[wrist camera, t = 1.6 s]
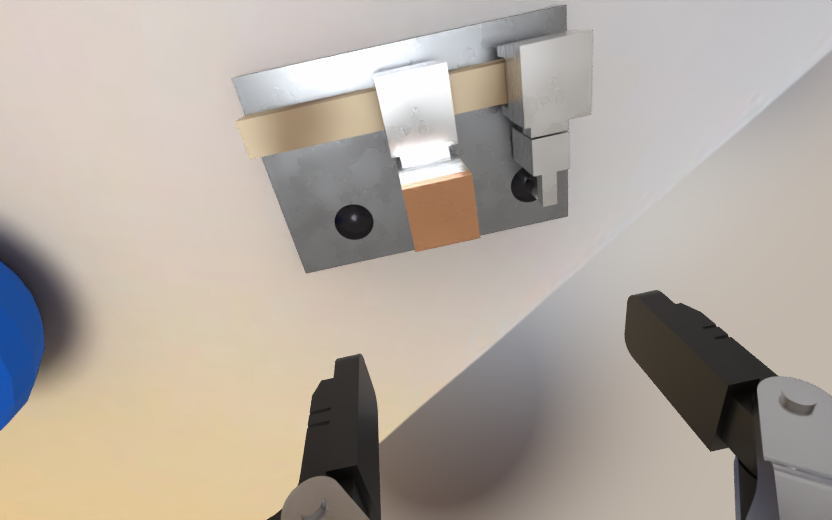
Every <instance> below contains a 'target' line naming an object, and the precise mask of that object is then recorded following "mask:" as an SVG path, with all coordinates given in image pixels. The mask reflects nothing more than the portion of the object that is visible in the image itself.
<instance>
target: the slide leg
mask: <svg viewBox="0 0 832 520" xmlns="http://www.w3.org/2000/svg"><path fill="white" fill-rule="evenodd" d="M374 81H375V85H376V90H377V94H378V99H379V103H380V108H381V112H382V117H383V121H384V126H385V130H386V135H387V139H388V144H389V148H390V153H391V157H392V158H395V159H396V164H397V169H398V173H399V178H400V183H401V187H402V192H403V197H404V201H405V206H406V210H407V215H408V220H409V224H410V229H411V233H412V238H413V242H414V247H415V252H418V251H422V250H427V249H431V248H436V247H441V246H445V245H450V244H454V243H459V242H463V241H468V240H473V239H477V238H480V232H479V224H478V216H477V208H476V200H475V192H474V184H473V176H472V174H471V172H470V171H469V170H468V168H467V167H466V166H465V164H464V163H463V161H462V160H461V159H460V157H459V156H458V155H457V153H456V152H455V151H454V149H453V148H452V147H451V145H454V144H458V139H457V132H456V125H455V117H454V110H453V103H452V96H451V89H450V81H449V74H448V67H447V62H445V61H442V60H439V59H438V60H432V61H427V62H422V63H418V64H413V65H409V66H404V67H400V68H395V69H391V70H386V71H382V72H377V73H374Z"/></svg>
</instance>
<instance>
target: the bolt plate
mask: <svg viewBox="0 0 832 520" xmlns="http://www.w3.org/2000/svg"><path fill="white" fill-rule="evenodd" d="M565 31H567V21H566V5H561V6H556V7H552V8H547V9H543V10H538V11H534V12H529V13H525V14H520V15H516V16H511V17H506V18H502V19H497V20H493V21H488V22H484V23H479V24H475V25H470V26H466V27H461V28H457V29H452V30H447V31H443V32H438V33H434V34H429V35H425V36H420V37H416V38H411V39H407V40H402V41H398V42H393V43H388V44H384V45H379V46H375V47H370V48H366V49H361V50H357V51H352V52H348V53H343V54H339V55H334V56H329V57H325V58H320V59H316V60H311V61H307V62H302V63H298V64H293V65H289V66H284V67H280V68H275V69H270V70H266V71H261V72H257V73H252V74H248V75H243V76H239V77H235V78H232V81H233V84H234V86H235V89H236V92H237V94H238V97H239V100H240V102H241V105H242V107H243V110H244V113H245V115H249V114H253V113H258V112H262V111H267V110H271V109H276V108H280V107H285V106H289V105H294V104H299V103H303V102H308V101H312V100H317V99H321V98H326V97H330V96H335V95H340V94H344V93H349V92H353V91H358V90H362V89H367V88H371V87H376V85H375V81H374V73H377V72H382V71H386V70H391V69H395V68H400V67H404V66H409V65H413V64H418V63H422V62H427V61H432V60H438V59H439V60H442V61H445V62H447V67H448V71H449V70H453V69H458V68H462V67H467V66H471V65H476V64H481V63H485V62H490V61H494V60H499V59H503V57H498V56H497V46H500V45H504V44H509V43H513V42H518V41H522V40H527V39H532V38H536V37H541V36H545V35H550V34H554V33H561V32H565ZM505 104H508V103H505ZM502 105H504V104H501V105H496V106H492V107H487V108H483V109H478V110H473V111H469V112H464V113H460V114H455V115H454V117H455V125H456V132H457V139H458V144H454V145H451V147H452V148H453V149H454V151H455V152H456V153H457V155H458V156H459V157H460V159H461V160H462V161H463V163H464V164H465V166H466V167H467V168H468V170H469V171H470V172H471V174H472V176H473V184H474V192H475V200H476V208H477V216H478V224H479V232H480V235H485V234H489V233H494V232H498V231H503V230H508V229H512V228H517V227H521V226H526V225H530V224H535V223H540V222H544V221H549V220H553V219H558V218H563V217H567V216H568V169H566V170H562V171H557V204H555V205H550V206H545V207H543V206H542V205H541V204H540V203H539V202H538V200H537V199H536V198H535V197H534V196H533V195H532V194H531V193H530V192H529V191H528V190H527V189H526V184H527V182H528V181H530V180H535V181H536V182H537V176H532V175H531V174H530V173H529V172H528V171H527V170H525V169H524V168H523V167H522V166H521V165H520V164H518V163H517V162H516V161H515V160H514V155H513V141H512V127H514V126H518V125H517V124H516V123H514V122H512V121H511V120H509V118H508V117H506V116H505V115H503V114H502ZM566 131H567V130H566ZM262 160H263V162H264V165H265V168H266V170H267V173H268V175H269V178H270V181H271V183H272V186H273V189H274V191H275V194H276V196H277V199H278V202H279V204H280V207H281V209H282V212H283V215H284V217H285V220H286V223H287V225H288V228H289V230H290V233H291V236H292V238H293V241H294V243H295V246H296V249H297V251H298V254H299V257H300V259H301V262H302V264H303V267H304V270H305V272H306V273H310V272H315V271H319V270H324V269H329V268H333V267H338V266H342V265H347V264H351V263H356V262H361V261H365V260H370V259H374V258H379V257H384V256H388V255H393V254H397V253H402V252H407V251H411V250H415V247H414V242H413V238H412V233H411V229H410V224H409V220H408V215H407V210H406V206H405V201H404V197H403V192H402V187H401V183H400V178H399V173H398V169H397V164H396V159H395V158H392V157H391V153H390V148H389V144H388V139H387V135H386V130H382V131H378V132H373V133H369V134H364V135H359V136H355V137H350V138H346V139H341V140H337V141H332V142H328V143H323V144H318V145H314V146H309V147H305V148H300V149H296V150H291V151H287V152H282V153H277V154H273V155H268V156H264V157H262Z"/></svg>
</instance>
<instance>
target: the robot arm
mask: <svg viewBox="0 0 832 520" xmlns="http://www.w3.org/2000/svg"><path fill="white" fill-rule="evenodd" d="M625 342H626V346H627V348H628V350H629V353H630V354H631V356H632V357H633V358H634V360H635V361H636V362H637V363H638V364H639V366H640V367H641V368H642V369H643V370H644V372H645V373H646V374H647V375H648V377H649V378H650V379H651V380H652V381H653V383H654V384H655V385H656V386H657V387H658V389H659V390H660V391H661V392H662V393H663V395H664V396H665V397H666V398H667V400H668V401H669V402H670V403H671V404H672V406H673V407H674V408H675V409H676V410H677V412H678V413H679V414H680V415H681V416H682V418H683V419H684V420H685V421H686V422H687V424H688V425H689V426H690V427H691V429H692V430H693V431H694V432H695V433H696V435H697V436H698V437H699V438H700V439H701V441H702V442H703V443H704V444H705V445H706V447H707V448H708V449H709V450H710V452H711V451H715V450H720V449H724V448H730V449H731V451H732V452H733V453H734V454H735V455H736V456H735V459H734V487H735V512H736V513H735V514H736V520H832V396H831V395H830V394H828V393H827V392H826V391H824V390H823V389H821V388H819V387H817V386H816V385H813V384H811V383H809V382H806V381H803V380H800V379H796V378H792V377H784V376H778V375H776V374H775V373H774V372H773V371H771V370H770V369H769V368H767V366H765V365H764V364H763V363H762V362H761V361H759V360H758V359H757V358H756V357H755V356H753V355H752V354H751V353H750V352H749V351H747V350H746V349H745V348H744V347H743V346H741V345H740V344H739V343H738V342H736V341H735V340H734V339H733V338H732V337H728V334H727V333H726V332H724V331H723V330H722V329H721V328H720V327H716V324H715V323H714V322H712V321H711V320H710V319H709V318H707V317H706V316H705V315H704V314H703V313H701V312H700V311H697V310H695V309H693V308H691V307H689V306H687V305H684V304H682V303H679V304H675V303H673V302H672V301H671V300H670V299H669V298H668V297H667V296H665V295H664V294H663V293H662V292H660V291H658V290H654V291H650V292H645V293H641V294H636V295H631V296H630V297H629V298H628V301H627V312H626V324H625ZM379 474H380V472H379V438H378V409H377V401H376V395H375V391H374V388H373V385H372V382H371V379H370V376H369V373H368V370H367V367H366V364H365V361H364V358H363V356H362V354H357V355H353V356H348V357H343V358H339V359H336V361H335V370H334V378H331V379H327V380H322V381H321V382H320V384H319V385H318V387H317V389H316V390H315V392H314V394H313V396H312V401H311V407H310V415H309V421H308V428H307V434H306V440H305V447H304V454H303V460H302V467H301V474H300V479H299V484H298V486H297V487H296V488H295V489H294V490H293V491H292V492H291V493H290V495H289V496H288V498H287V499H286V501H285V503H284V505H283V508H282V509H281V510H280V511H279V512H278V513H276V514H275V515H274V516H272V517H270V518H269V519H267V520H381V507H380V475H379Z"/></svg>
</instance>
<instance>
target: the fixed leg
mask: <svg viewBox="0 0 832 520" xmlns="http://www.w3.org/2000/svg"><path fill="white" fill-rule="evenodd" d="M497 56H498V57H503V58H505V68H506V81H507V94H508V104H504V105H502V114H503V115H505V116H506V117H508V118H509V120H511V121H512V122H514V123H516V124H517V125H518V126H514V127H512V141H513V155H514V160H515V161H516V162H517V163H518V164H520V165H521V166H522V167H523V168H524V169H525V170H527V171H528V172H529V173H530V174H531V175H532V176H537V182H536V181H535V180H530V181H528V182H527V184H526V189H527V190H528V191H529V192H530V193H531V194H532V195H533V196H534V197H535V198H536V199H537V200H538V202H539V203H540V204H541V205H542V206H543V207H545V206H550V205H555V204H557V171H562V170H566V169H569V132H568V131H566V130H569V119H573V118H577V117H582V116H587V115H591V103H592V56H593V30H574V31H565V32H561V33H554V34H550V35H545V36H541V37H536V38H532V39H527V40H522V41H518V42H513V43H509V44H504V45H500V46H497Z"/></svg>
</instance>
